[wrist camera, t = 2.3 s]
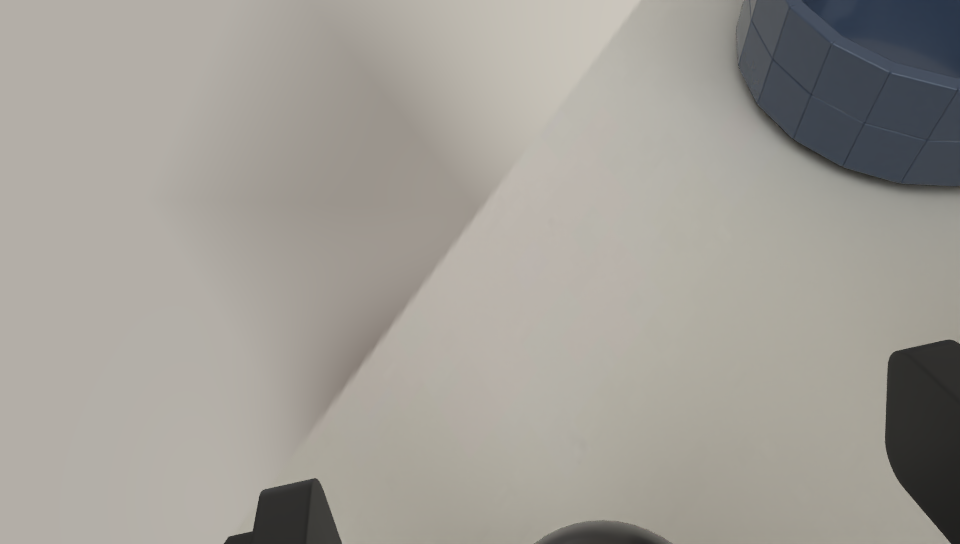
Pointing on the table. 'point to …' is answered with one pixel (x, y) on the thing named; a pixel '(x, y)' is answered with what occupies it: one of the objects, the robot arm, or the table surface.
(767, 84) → the bowl
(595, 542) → the two-tone capsule
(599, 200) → the table surface
